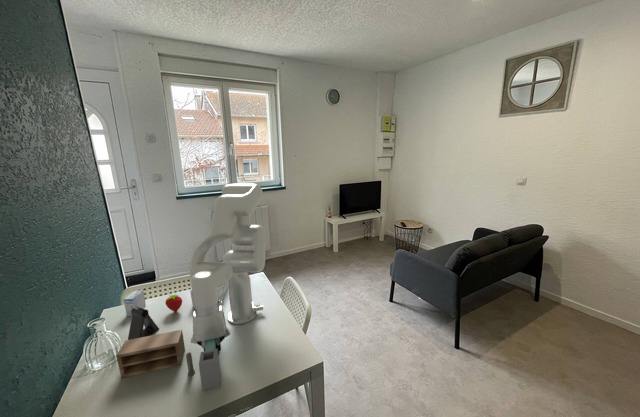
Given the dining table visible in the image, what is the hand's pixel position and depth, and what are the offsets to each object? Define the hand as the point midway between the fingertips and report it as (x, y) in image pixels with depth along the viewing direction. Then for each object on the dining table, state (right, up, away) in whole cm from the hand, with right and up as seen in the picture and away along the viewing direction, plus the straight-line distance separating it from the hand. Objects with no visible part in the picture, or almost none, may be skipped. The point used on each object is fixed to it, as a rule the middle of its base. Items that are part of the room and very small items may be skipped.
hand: (213, 353), depth 91 cm
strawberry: (-30, +2, +30) cm, 43 cm away
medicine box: (-49, +2, +32) cm, 59 cm away
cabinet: (-17, -4, -1) cm, 18 cm away
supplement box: (-19, +5, +43) cm, 47 cm away
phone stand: (-35, -1, +16) cm, 38 cm away
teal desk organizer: (0, -3, +1) cm, 4 cm away
